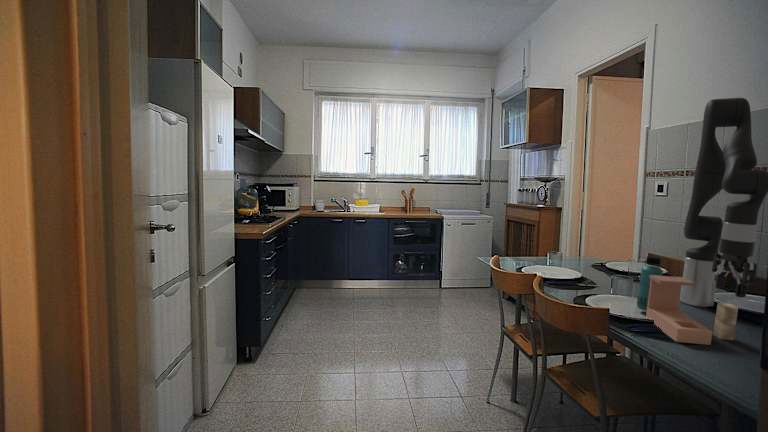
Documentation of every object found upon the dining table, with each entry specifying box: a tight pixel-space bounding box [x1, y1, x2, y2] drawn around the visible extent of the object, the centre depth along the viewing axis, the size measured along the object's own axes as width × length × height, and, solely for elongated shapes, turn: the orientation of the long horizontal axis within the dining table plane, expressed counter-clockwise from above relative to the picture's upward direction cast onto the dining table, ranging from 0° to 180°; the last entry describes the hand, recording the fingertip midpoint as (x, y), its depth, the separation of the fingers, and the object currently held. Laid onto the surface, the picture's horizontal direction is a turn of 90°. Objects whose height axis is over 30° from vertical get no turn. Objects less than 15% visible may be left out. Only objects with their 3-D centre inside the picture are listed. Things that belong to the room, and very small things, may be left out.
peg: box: [712, 302, 739, 341], centre depth 120 cm, size 3×3×10 cm
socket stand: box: [645, 275, 713, 346], centre depth 123 cm, size 10×18×15 cm, turn 171°
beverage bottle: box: [636, 255, 664, 312], centre depth 138 cm, size 6×7×20 cm
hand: (729, 292), depth 118 cm, fingers open, 8 cm apart
